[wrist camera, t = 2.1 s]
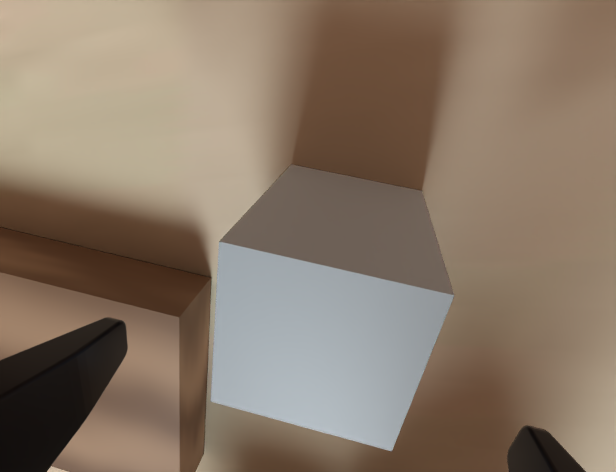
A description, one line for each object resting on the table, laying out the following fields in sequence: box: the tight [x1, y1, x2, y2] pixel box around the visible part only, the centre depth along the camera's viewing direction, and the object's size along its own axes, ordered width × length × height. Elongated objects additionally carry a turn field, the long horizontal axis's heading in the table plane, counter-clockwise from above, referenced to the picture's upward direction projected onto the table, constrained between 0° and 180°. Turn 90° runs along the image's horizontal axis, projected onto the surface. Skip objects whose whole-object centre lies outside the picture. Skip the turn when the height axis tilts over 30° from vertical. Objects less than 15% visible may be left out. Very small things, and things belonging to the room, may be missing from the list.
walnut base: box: [0, 227, 211, 472], centre depth 19 cm, size 13×13×3 cm
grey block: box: [211, 164, 454, 451], centre depth 12 cm, size 5×5×7 cm
